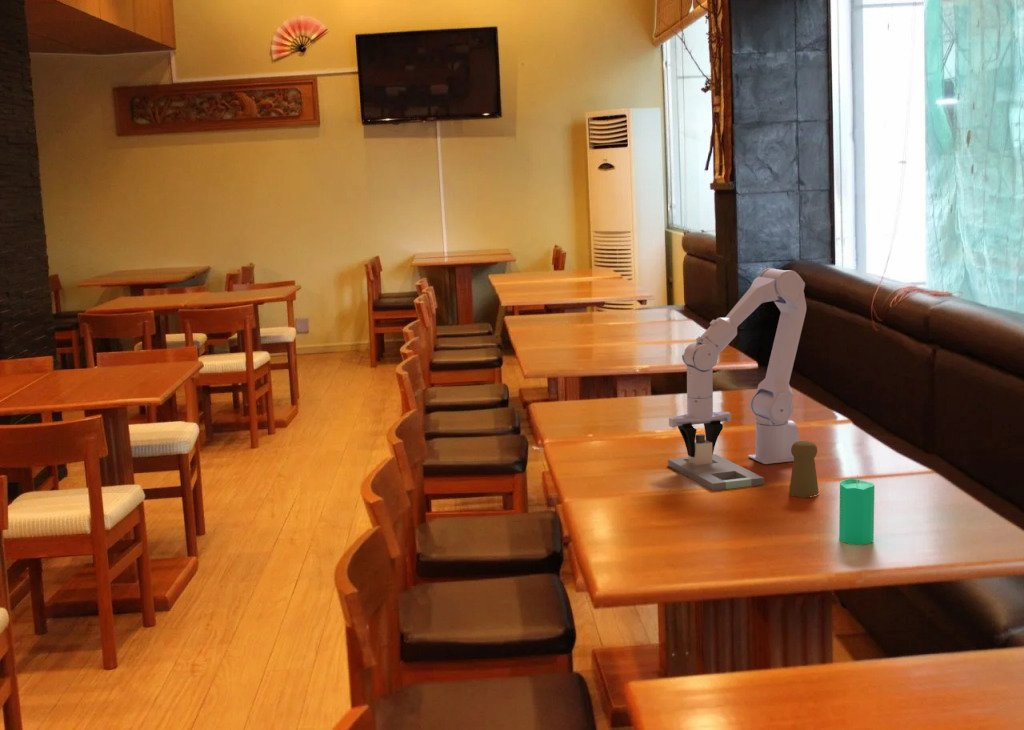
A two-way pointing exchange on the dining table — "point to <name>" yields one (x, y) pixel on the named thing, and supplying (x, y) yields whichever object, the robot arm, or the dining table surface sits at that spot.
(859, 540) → the candle
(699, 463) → the plug
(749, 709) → the dining table surface
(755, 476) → the grey board with holes
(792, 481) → the cork
